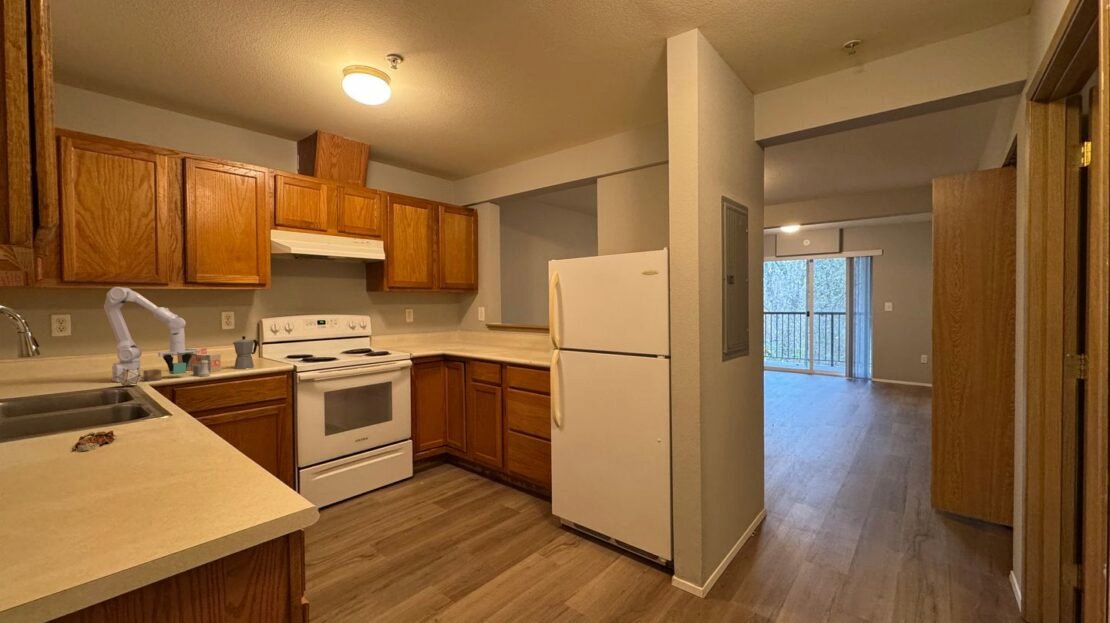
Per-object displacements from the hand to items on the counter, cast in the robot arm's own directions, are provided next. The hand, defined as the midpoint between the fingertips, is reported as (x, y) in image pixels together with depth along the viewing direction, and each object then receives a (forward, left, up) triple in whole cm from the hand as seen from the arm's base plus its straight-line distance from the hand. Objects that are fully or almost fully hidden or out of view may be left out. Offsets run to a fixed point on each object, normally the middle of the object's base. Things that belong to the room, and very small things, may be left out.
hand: (177, 370), depth 229 cm
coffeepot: (+35, +8, -4) cm, 36 cm away
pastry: (-62, -116, -4) cm, 132 cm away
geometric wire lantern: (-22, -12, -4) cm, 25 cm away
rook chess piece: (+8, -8, -4) cm, 12 cm away
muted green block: (0, 0, -2) cm, 2 cm away
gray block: (+10, 0, -4) cm, 11 cm away
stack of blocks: (+16, +17, -4) cm, 24 cm away
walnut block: (-10, 0, -4) cm, 11 cm away
